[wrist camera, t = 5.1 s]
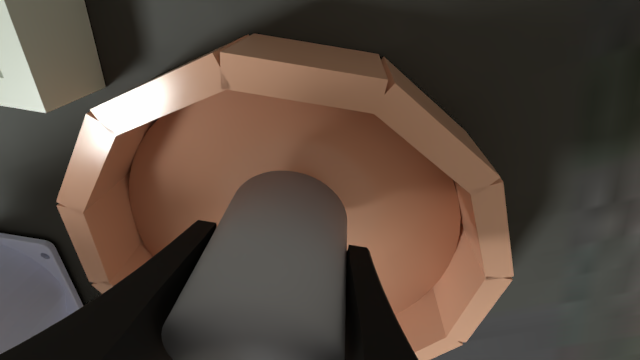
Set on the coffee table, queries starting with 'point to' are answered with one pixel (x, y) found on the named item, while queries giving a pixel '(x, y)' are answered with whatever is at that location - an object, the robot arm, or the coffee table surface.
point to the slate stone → (268, 277)
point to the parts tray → (46, 54)
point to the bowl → (304, 157)
